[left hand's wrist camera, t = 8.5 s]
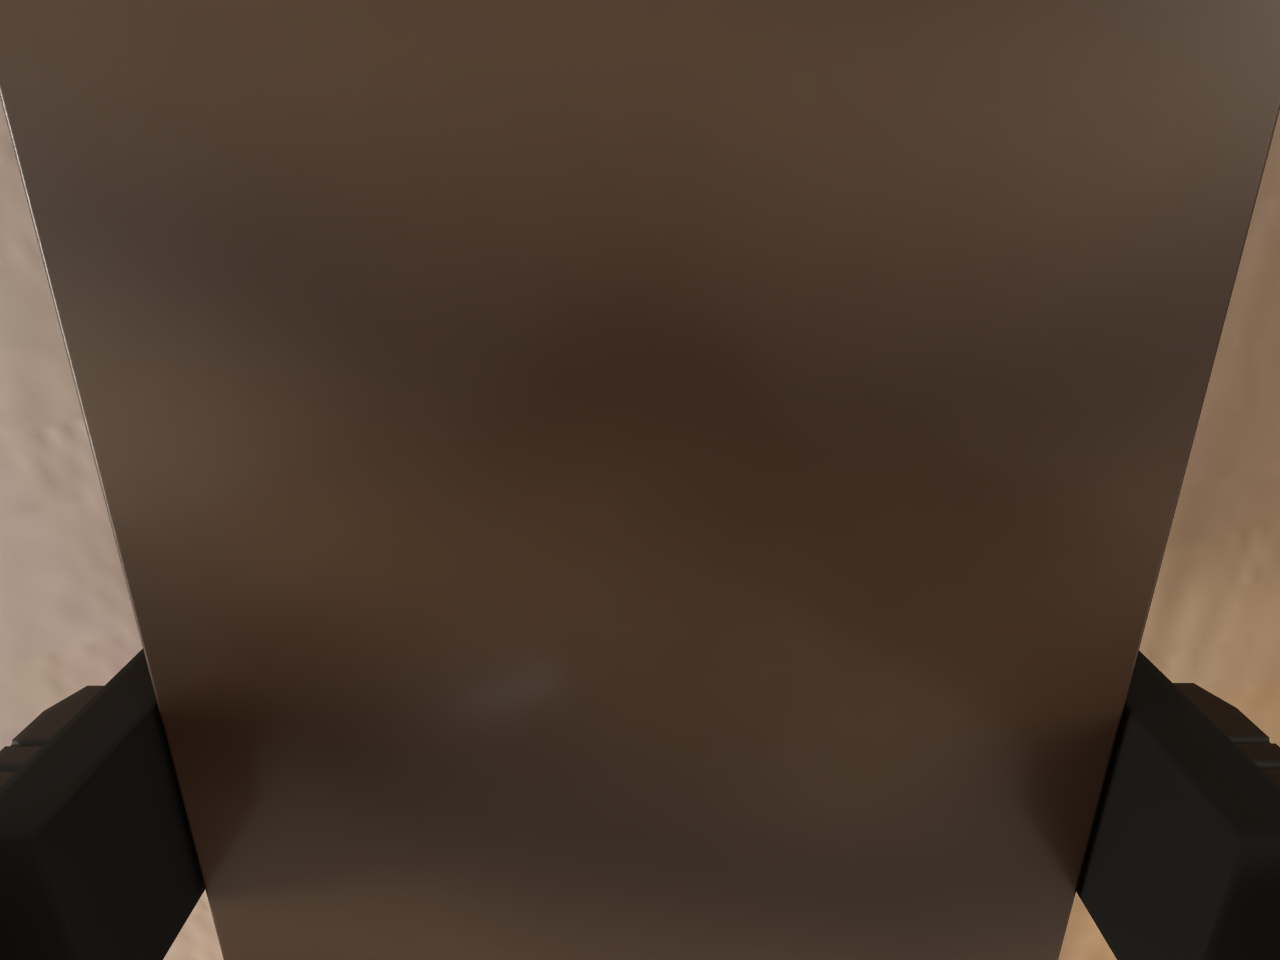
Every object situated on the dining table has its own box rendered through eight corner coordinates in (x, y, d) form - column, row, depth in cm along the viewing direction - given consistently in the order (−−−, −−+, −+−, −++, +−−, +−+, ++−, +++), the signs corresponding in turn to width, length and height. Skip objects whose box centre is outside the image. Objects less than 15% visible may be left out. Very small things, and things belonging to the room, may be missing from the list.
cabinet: (321, -348, 13) (-443, -1588, 4) (960, -347, 13) (1723, -1580, 4) (426, 615, 19) (235, 1014, 10) (854, 616, 19) (1045, 1014, 10)
